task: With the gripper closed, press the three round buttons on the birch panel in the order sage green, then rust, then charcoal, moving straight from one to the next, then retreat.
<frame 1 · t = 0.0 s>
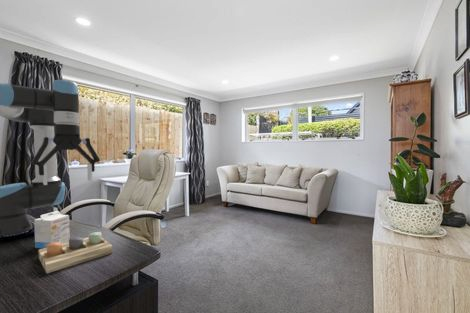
hand: (68, 182, 86), 28 cm above the table, fingers open, 13 cm apart
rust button: (54, 248, 83), point 5 cm above the table, slide at 0.0 cm
charcoal button: (76, 242, 88), point 5 cm above the table, slide at 0.0 cm
ink box: (53, 244, 98), on the table
panel: (76, 255, 88), on the table
sage button: (95, 237, 93), point 5 cm above the table, slide at 0.0 cm
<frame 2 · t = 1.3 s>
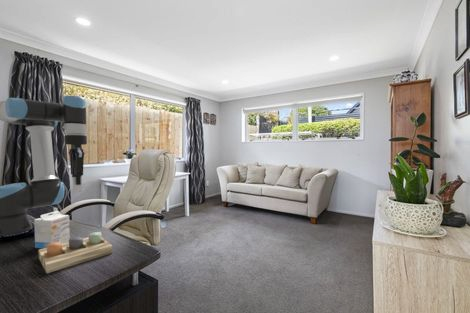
hand: (77, 192, 95), 22 cm above the table, fingers closed
nothing on the table moved.
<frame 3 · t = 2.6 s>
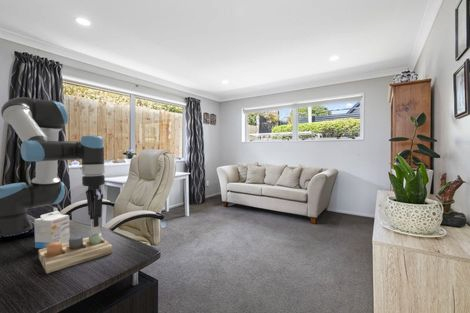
hand: (95, 234, 92), 6 cm above the table, fingers closed
sage button: (95, 238, 93), point 5 cm above the table, slide at 0.3 cm, touching gripper
everything else where it was.
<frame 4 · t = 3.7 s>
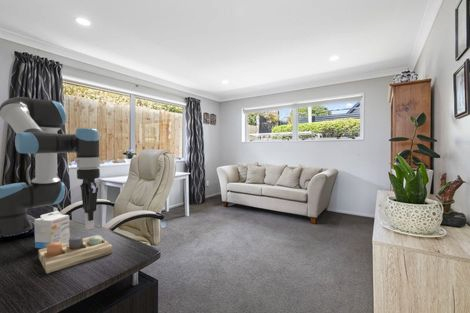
hand: (90, 228, 91), 9 cm above the table, fingers closed
sage button: (95, 241, 93), point 3 cm above the table, slide at 1.6 cm
everything else where it was.
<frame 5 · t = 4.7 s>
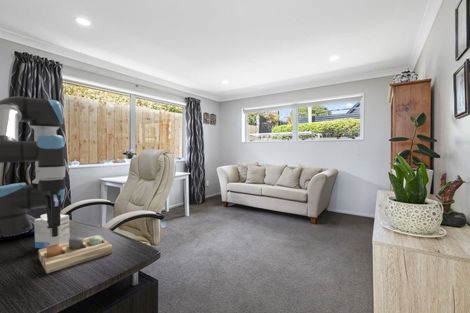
hand: (54, 244, 83), 6 cm above the table, fingers closed
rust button: (54, 249, 83), point 4 cm above the table, slide at 0.4 cm, touching gripper
everything else where it was.
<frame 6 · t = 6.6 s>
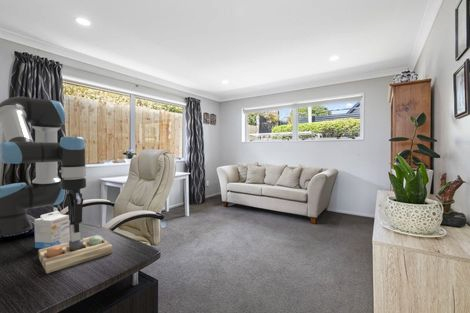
hand: (76, 240, 88), 6 cm above the table, fingers closed
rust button: (54, 252, 83), point 3 cm above the table, slide at 1.6 cm
charcoal button: (76, 244, 88), point 4 cm above the table, slide at 0.8 cm, touching gripper
everything else where it was.
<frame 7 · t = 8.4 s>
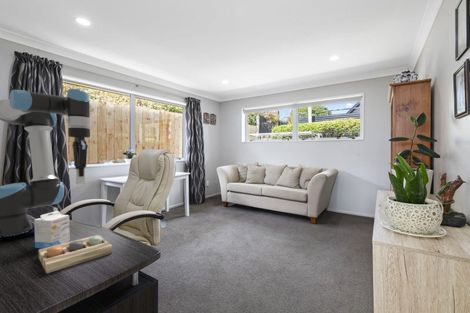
hand: (80, 184, 98), 25 cm above the table, fingers closed
charcoal button: (76, 247, 88), point 3 cm above the table, slide at 1.6 cm
everything else where it was.
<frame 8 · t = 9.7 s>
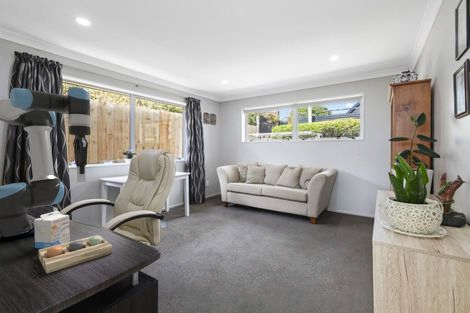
hand: (81, 181, 98), 26 cm above the table, fingers closed
nothing on the table moved.
at the end: sage button slide at 1.6 cm; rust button slide at 1.6 cm; charcoal button slide at 1.6 cm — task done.
